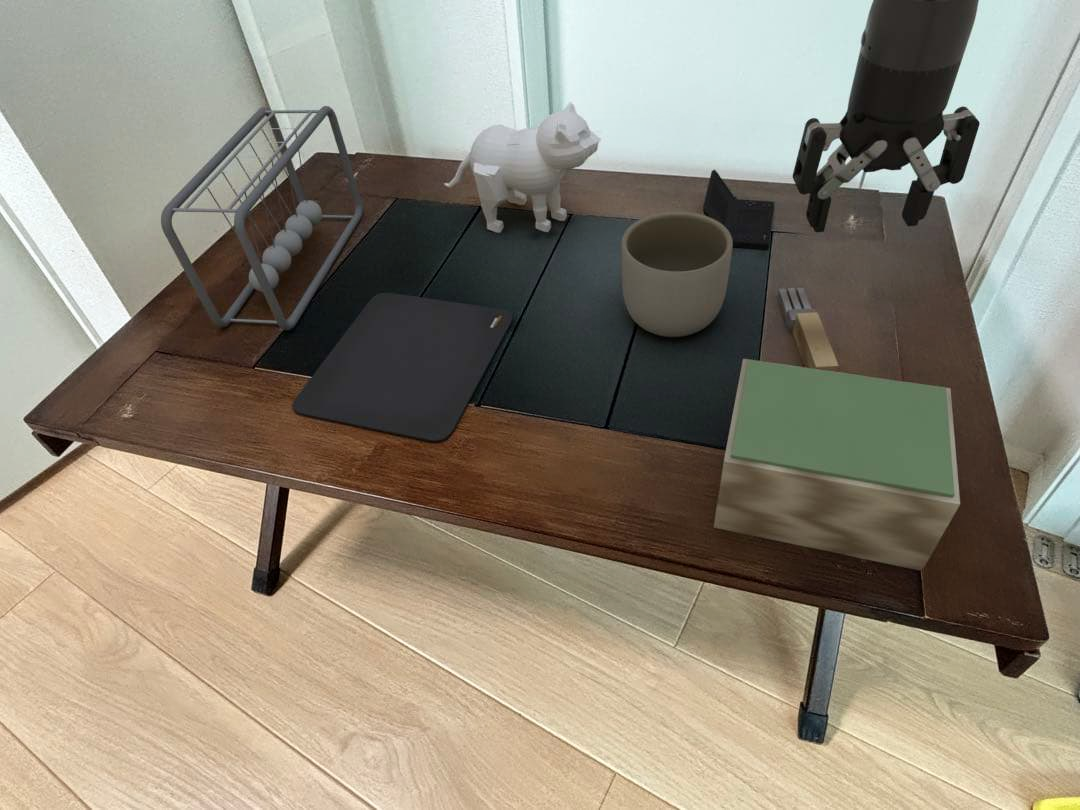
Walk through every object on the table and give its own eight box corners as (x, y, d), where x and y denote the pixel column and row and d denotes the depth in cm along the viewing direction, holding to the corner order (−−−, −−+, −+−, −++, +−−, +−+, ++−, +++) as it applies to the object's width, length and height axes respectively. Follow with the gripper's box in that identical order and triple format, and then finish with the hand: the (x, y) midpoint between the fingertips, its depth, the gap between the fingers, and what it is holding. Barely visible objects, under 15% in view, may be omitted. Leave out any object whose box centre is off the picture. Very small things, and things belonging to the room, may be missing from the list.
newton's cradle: (289, 338, 93) (235, 218, 80) (216, 334, 94) (152, 216, 82) (366, 212, 113) (332, 99, 100) (304, 211, 115) (264, 100, 102)
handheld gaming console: (786, 238, 95) (745, 181, 91) (739, 268, 99) (697, 214, 95) (776, 203, 104) (738, 149, 100) (733, 232, 108) (694, 181, 104)
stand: (917, 459, 71) (950, 388, 64) (922, 571, 63) (960, 504, 55) (732, 427, 76) (743, 358, 69) (713, 527, 67) (723, 461, 60)
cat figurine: (434, 228, 108) (410, 120, 95) (462, 192, 114) (442, 87, 102) (595, 248, 100) (590, 134, 88) (614, 208, 107) (612, 97, 95)
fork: (836, 385, 79) (842, 365, 76) (807, 386, 79) (812, 366, 77) (802, 294, 90) (806, 275, 87) (776, 296, 90) (779, 276, 88)
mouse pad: (446, 445, 77) (445, 443, 77) (286, 412, 83) (286, 410, 83) (517, 312, 92) (516, 311, 92) (377, 292, 98) (376, 290, 97)
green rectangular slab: (944, 391, 63) (946, 387, 63) (953, 498, 56) (954, 494, 56) (747, 362, 68) (748, 359, 68) (730, 457, 60) (731, 454, 60)
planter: (720, 353, 84) (730, 277, 76) (614, 344, 86) (613, 269, 78) (725, 288, 92) (735, 213, 84) (629, 281, 94) (629, 208, 87)
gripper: (832, 74, 54) (795, 253, 66) (1028, 58, 53) (955, 242, 65) (808, 37, 60) (777, 208, 71) (986, 21, 59) (925, 198, 70)
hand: (862, 224), depth 68 cm, fingers open, 8 cm apart
